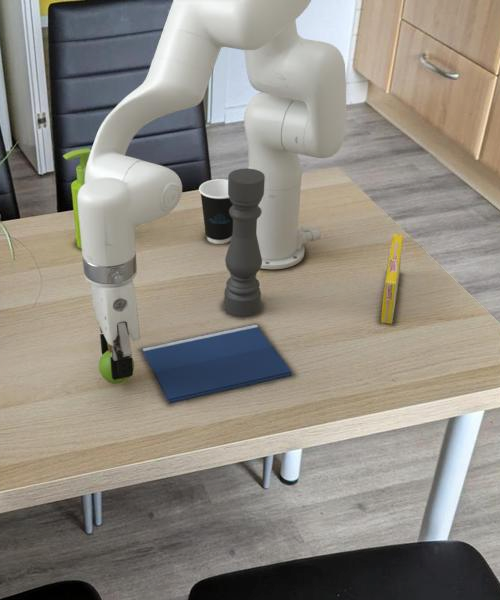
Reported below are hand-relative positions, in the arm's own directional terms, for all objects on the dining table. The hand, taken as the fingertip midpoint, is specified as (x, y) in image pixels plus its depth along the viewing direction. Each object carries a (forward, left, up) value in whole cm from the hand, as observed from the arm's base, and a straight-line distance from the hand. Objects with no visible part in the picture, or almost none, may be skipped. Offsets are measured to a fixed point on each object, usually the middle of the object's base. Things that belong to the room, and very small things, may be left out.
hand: (117, 364), depth 127 cm
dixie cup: (-31, -37, -4) cm, 48 cm away
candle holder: (-26, -13, -4) cm, 29 cm away
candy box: (-51, -7, -4) cm, 52 cm away
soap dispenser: (-6, -44, -4) cm, 44 cm away
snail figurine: (0, -1, -3) cm, 3 cm away
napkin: (-16, 0, -4) cm, 16 cm away
